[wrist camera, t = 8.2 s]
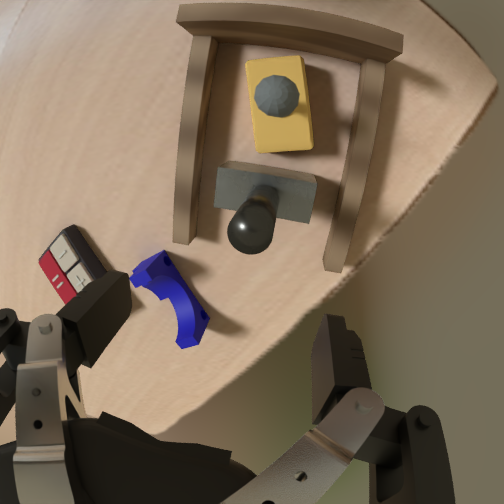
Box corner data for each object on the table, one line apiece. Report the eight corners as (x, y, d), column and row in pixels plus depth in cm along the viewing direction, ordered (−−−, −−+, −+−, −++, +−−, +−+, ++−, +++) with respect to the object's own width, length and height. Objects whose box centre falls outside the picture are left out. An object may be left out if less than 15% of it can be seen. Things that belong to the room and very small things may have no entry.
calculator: (60, 229, 35) (116, 313, 38) (78, 221, 39) (130, 299, 42) (34, 261, 38) (83, 332, 42) (50, 252, 42) (96, 319, 46)
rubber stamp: (311, 147, 30) (323, 157, 19) (260, 151, 31) (241, 163, 20) (302, 62, 26) (306, 27, 15) (249, 67, 27) (225, 36, 16)
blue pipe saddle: (142, 261, 39) (121, 282, 34) (164, 249, 38) (145, 269, 32) (186, 325, 43) (173, 351, 37) (210, 317, 41) (198, 344, 36)
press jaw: (229, 160, 31) (184, 186, 18) (313, 174, 31) (329, 210, 18) (225, 194, 33) (180, 241, 20) (306, 208, 32) (315, 266, 19)
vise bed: (204, 28, 25) (179, 4, 18) (379, 53, 24) (403, 34, 16) (181, 233, 36) (154, 260, 29) (337, 261, 35) (347, 297, 28)
